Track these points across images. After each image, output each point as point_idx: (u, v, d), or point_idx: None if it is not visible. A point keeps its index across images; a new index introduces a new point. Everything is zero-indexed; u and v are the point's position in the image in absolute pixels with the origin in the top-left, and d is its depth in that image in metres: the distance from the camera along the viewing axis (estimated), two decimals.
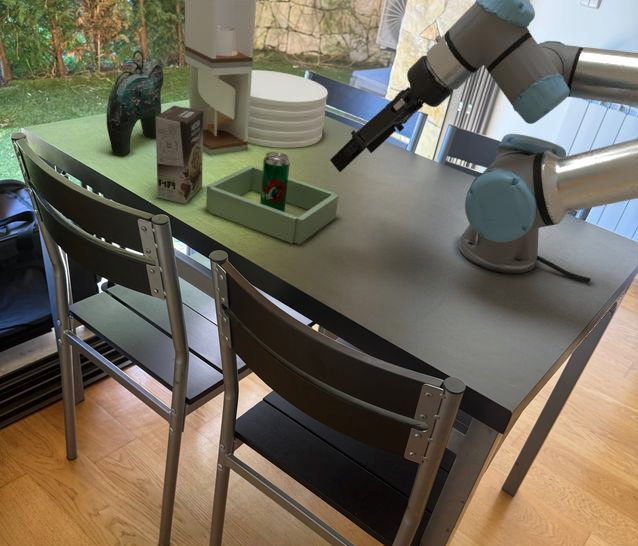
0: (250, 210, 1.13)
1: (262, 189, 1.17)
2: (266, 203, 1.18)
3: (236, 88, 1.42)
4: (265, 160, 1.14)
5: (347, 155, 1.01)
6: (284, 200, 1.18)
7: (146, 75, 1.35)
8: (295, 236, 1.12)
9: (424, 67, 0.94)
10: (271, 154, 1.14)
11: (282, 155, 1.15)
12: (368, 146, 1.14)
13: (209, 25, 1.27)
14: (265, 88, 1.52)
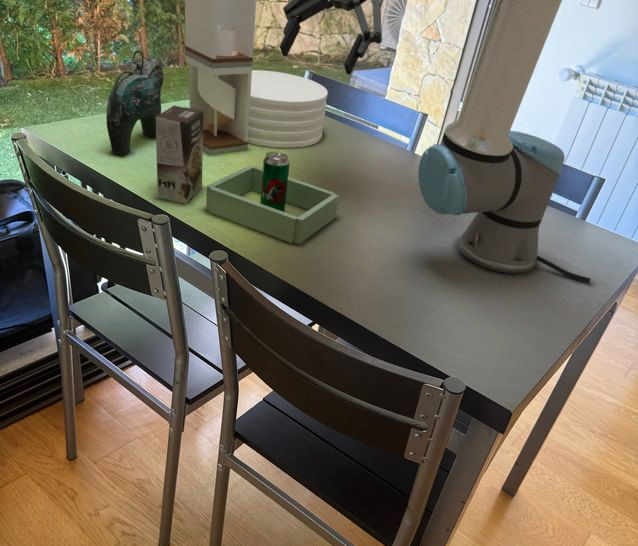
0: (250, 210, 1.13)
1: (262, 189, 1.17)
2: (266, 203, 1.18)
3: (236, 88, 1.42)
4: (265, 160, 1.14)
5: (284, 31, 1.14)
6: (284, 200, 1.18)
7: (146, 75, 1.35)
8: (295, 236, 1.12)
9: None
10: (271, 154, 1.14)
11: (282, 155, 1.15)
12: None
13: (209, 25, 1.27)
14: (265, 88, 1.52)
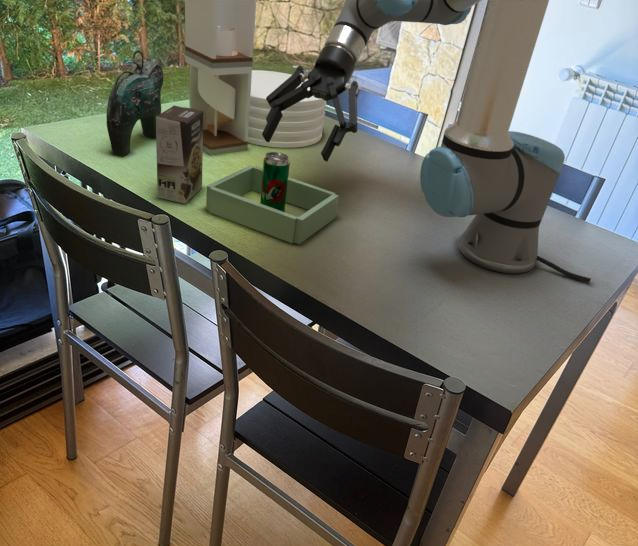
0: (250, 210, 1.13)
1: (262, 189, 1.17)
2: (266, 203, 1.18)
3: (236, 88, 1.42)
4: (265, 160, 1.14)
5: None
6: (284, 200, 1.18)
7: (146, 75, 1.35)
8: (295, 236, 1.12)
9: None
10: (271, 154, 1.14)
11: (282, 155, 1.15)
12: None
13: (209, 25, 1.27)
14: (265, 88, 1.52)
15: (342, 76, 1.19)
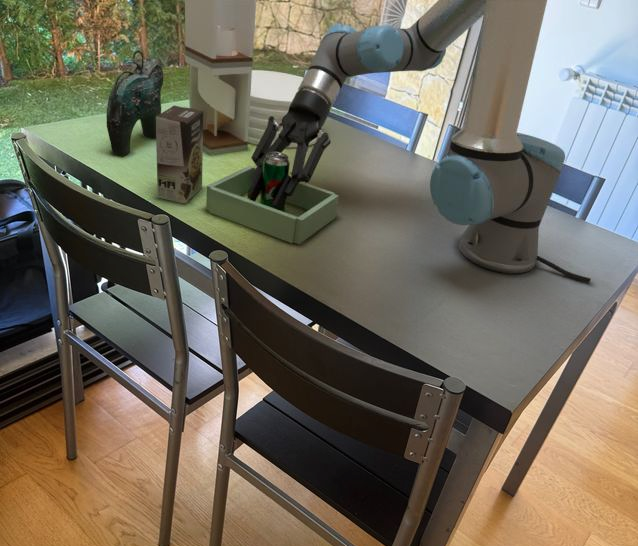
0: (250, 210, 1.13)
1: (262, 189, 1.17)
2: (266, 203, 1.18)
3: (236, 88, 1.42)
4: (265, 160, 1.14)
5: (252, 179, 1.18)
6: None
7: (146, 75, 1.35)
8: (295, 236, 1.12)
9: None
10: (271, 154, 1.14)
11: (282, 155, 1.15)
12: None
13: (209, 25, 1.27)
14: (265, 88, 1.52)
15: (316, 121, 1.16)
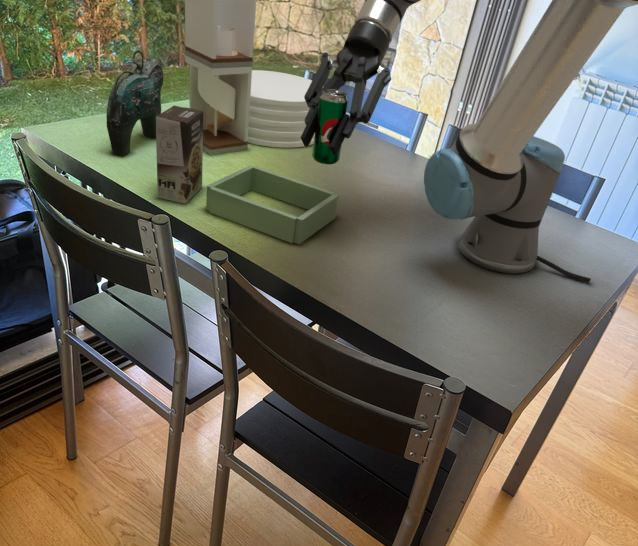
0: (250, 210, 1.13)
1: (317, 131, 1.07)
2: (321, 147, 1.07)
3: (236, 88, 1.42)
4: (322, 97, 1.03)
5: (305, 120, 1.08)
6: None
7: (146, 75, 1.35)
8: (295, 236, 1.12)
9: None
10: (328, 91, 1.04)
11: (339, 92, 1.05)
12: None
13: (209, 25, 1.27)
14: (265, 88, 1.52)
15: (376, 56, 1.06)
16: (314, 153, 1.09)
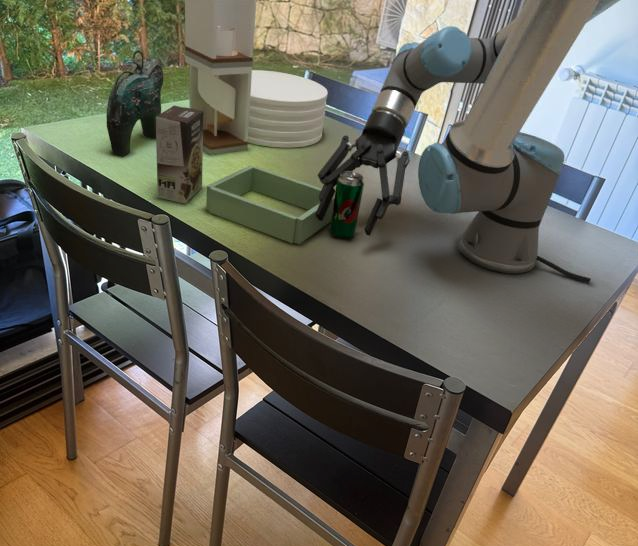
0: (250, 210, 1.13)
1: (334, 209, 1.14)
2: (338, 223, 1.15)
3: (236, 88, 1.42)
4: (340, 180, 1.11)
5: (319, 196, 1.15)
6: (356, 220, 1.16)
7: (146, 75, 1.35)
8: (295, 236, 1.12)
9: None
10: (345, 174, 1.11)
11: (356, 175, 1.12)
12: None
13: (209, 25, 1.27)
14: (265, 88, 1.52)
15: (393, 143, 1.13)
16: (331, 228, 1.16)
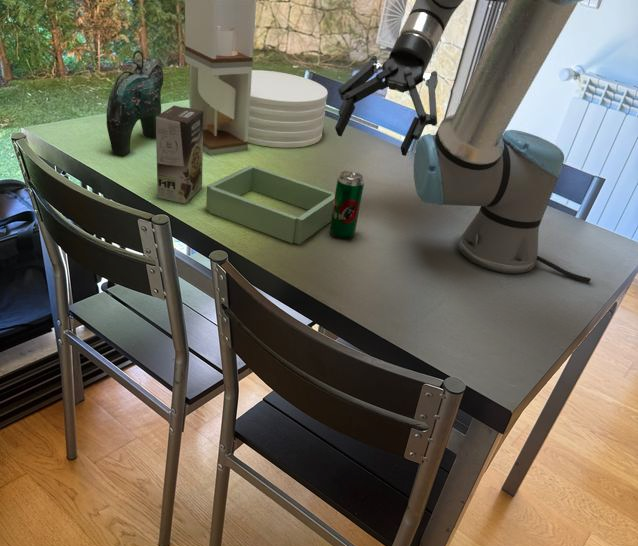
0: (250, 210, 1.13)
1: (334, 209, 1.14)
2: (338, 223, 1.15)
3: (236, 88, 1.42)
4: (340, 180, 1.11)
5: (339, 112, 1.16)
6: (356, 220, 1.16)
7: (146, 75, 1.35)
8: (295, 236, 1.12)
9: None
10: (345, 174, 1.11)
11: (356, 175, 1.12)
12: None
13: (209, 25, 1.27)
14: (265, 88, 1.52)
15: (420, 66, 1.13)
16: (331, 228, 1.16)
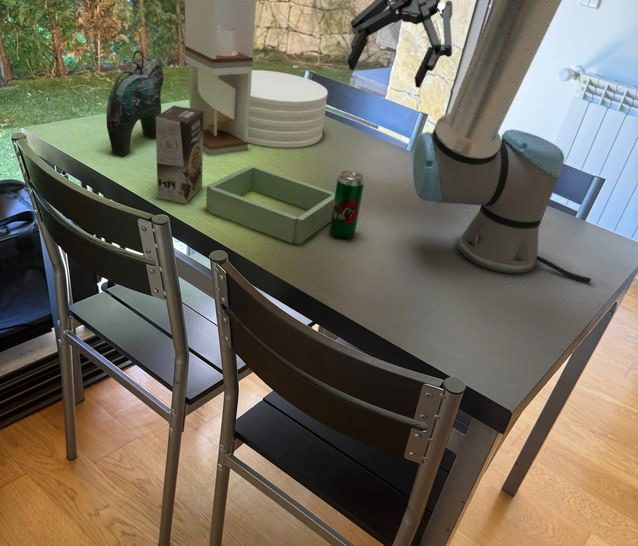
0: (250, 210, 1.13)
1: (334, 209, 1.14)
2: (338, 223, 1.15)
3: (236, 88, 1.42)
4: (340, 180, 1.11)
5: (351, 44, 1.13)
6: (356, 220, 1.16)
7: (146, 75, 1.35)
8: (295, 236, 1.12)
9: None
10: (345, 174, 1.11)
11: (356, 175, 1.12)
12: None
13: (209, 25, 1.27)
14: (265, 88, 1.52)
15: None
16: (331, 228, 1.16)
